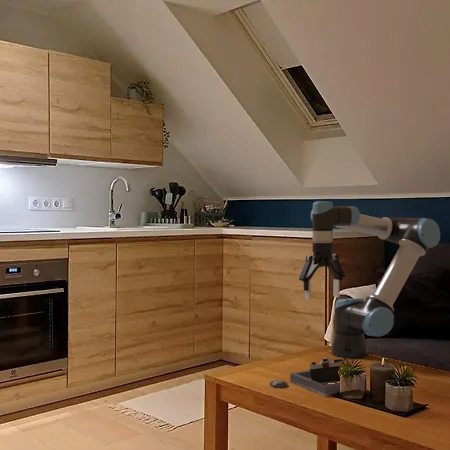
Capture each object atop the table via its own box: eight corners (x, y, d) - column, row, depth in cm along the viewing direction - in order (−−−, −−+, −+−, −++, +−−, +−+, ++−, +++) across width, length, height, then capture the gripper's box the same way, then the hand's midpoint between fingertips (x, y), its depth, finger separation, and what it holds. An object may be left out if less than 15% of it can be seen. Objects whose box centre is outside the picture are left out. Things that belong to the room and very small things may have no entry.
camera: (350, 378, 210) (344, 352, 212) (351, 380, 203) (344, 353, 204) (313, 385, 212) (307, 359, 214) (312, 388, 204) (306, 361, 206)
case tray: (321, 376, 221) (321, 367, 220) (357, 389, 204) (357, 380, 204) (290, 381, 214) (290, 373, 214) (324, 396, 197) (324, 387, 197)
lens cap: (280, 382, 213) (280, 378, 213) (290, 387, 208) (290, 382, 208) (266, 385, 210) (266, 381, 210) (276, 389, 205) (276, 385, 205)
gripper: (341, 240, 239) (341, 294, 240) (289, 242, 227) (289, 299, 228) (354, 241, 233) (354, 296, 233) (301, 243, 220) (301, 302, 221)
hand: (322, 298), depth 231 cm, fingers open, 13 cm apart
